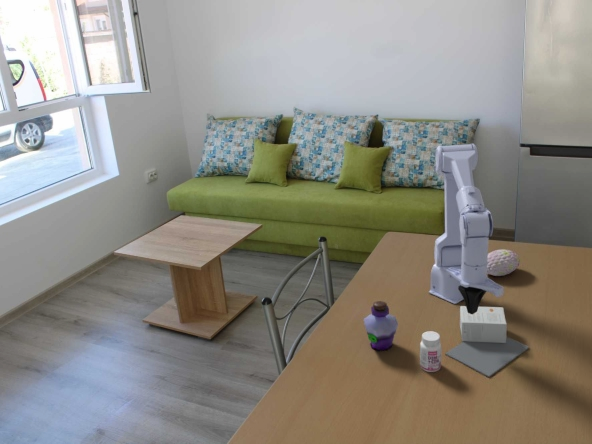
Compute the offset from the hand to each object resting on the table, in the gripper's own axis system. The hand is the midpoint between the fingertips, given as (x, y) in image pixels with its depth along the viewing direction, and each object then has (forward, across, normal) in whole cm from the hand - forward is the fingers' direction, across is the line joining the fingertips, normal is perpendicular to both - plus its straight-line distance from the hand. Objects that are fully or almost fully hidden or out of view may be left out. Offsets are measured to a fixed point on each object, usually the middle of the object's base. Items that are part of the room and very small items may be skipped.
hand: (472, 312), depth 132 cm
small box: (+6, -5, +2) cm, 8 cm away
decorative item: (+9, -16, +36) cm, 40 cm away
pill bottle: (+9, -1, -14) cm, 17 cm away
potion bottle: (+9, -15, -16) cm, 24 cm away
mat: (+9, +4, 0) cm, 10 cm away
